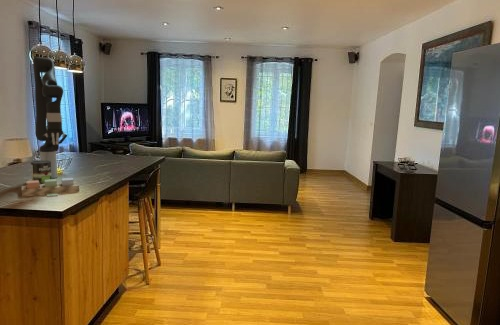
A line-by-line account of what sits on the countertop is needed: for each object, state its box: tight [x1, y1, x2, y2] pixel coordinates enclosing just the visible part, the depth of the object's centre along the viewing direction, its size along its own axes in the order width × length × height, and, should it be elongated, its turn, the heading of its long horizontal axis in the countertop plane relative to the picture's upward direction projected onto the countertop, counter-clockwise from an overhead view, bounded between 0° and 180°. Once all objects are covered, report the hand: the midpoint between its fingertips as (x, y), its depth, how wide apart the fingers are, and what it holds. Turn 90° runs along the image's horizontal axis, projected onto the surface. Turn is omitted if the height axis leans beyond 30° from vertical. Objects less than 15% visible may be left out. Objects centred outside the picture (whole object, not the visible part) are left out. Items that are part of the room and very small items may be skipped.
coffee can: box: [30, 160, 52, 185], centre depth 215 cm, size 10×10×14 cm
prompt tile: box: [46, 193, 59, 198], centre depth 195 cm, size 5×5×1 cm
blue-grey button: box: [61, 177, 75, 186], centre depth 206 cm, size 6×6×4 cm
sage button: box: [44, 178, 58, 187], centre depth 202 cm, size 6×6×4 cm
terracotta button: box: [26, 180, 39, 189], centre depth 197 cm, size 6×6×4 cm
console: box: [21, 181, 80, 198], centre depth 202 cm, size 27×10×4 cm, turn 121°
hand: (55, 150), depth 212 cm, fingers closed
